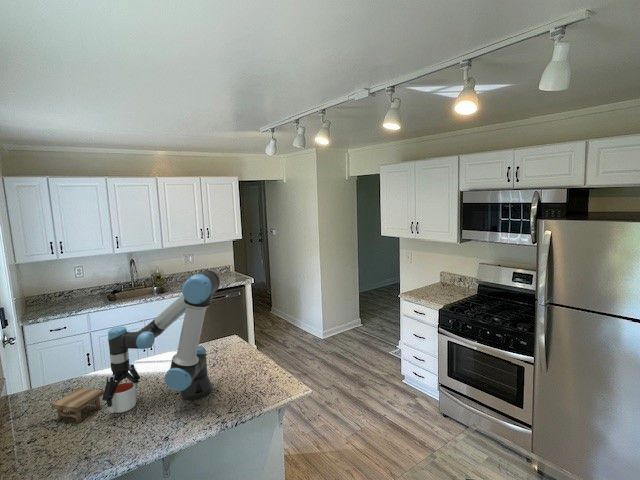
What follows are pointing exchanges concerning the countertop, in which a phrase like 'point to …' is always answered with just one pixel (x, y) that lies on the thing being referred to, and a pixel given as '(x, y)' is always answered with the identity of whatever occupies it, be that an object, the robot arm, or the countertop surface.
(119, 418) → the countertop surface
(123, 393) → the cup
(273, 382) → the countertop surface
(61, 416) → the stool
